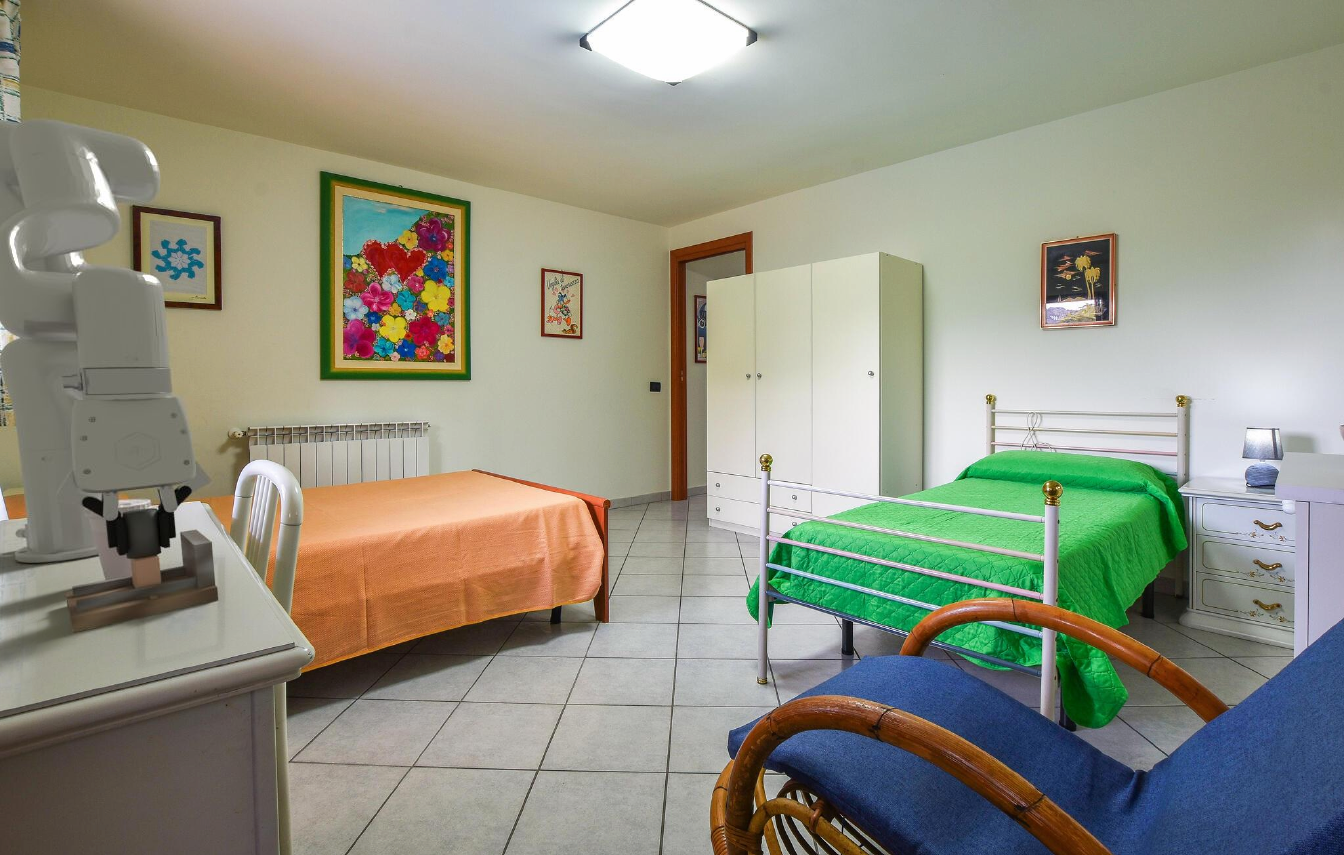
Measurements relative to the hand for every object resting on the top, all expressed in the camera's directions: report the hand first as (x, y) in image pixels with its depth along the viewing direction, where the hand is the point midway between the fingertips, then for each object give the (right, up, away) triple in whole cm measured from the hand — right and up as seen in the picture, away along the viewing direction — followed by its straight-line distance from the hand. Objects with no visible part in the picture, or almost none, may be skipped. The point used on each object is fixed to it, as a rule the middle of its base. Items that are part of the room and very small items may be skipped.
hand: (143, 547), depth 71 cm
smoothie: (-10, -6, +9) cm, 15 cm away
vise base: (0, -6, 0) cm, 6 cm away
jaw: (0, -4, 0) cm, 4 cm away
